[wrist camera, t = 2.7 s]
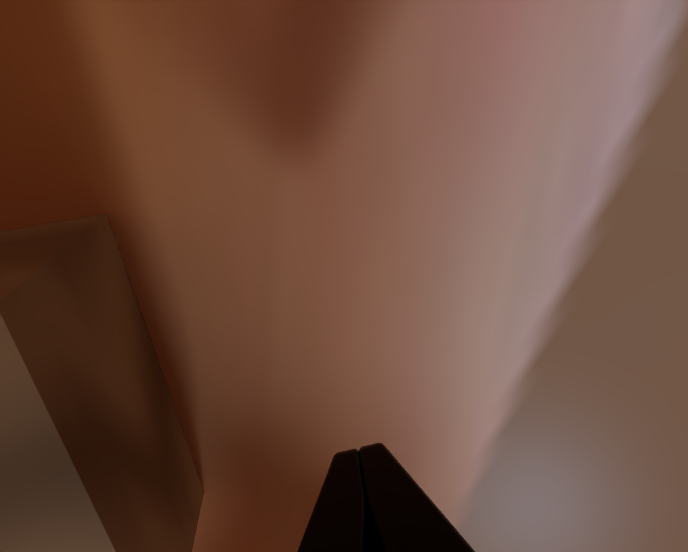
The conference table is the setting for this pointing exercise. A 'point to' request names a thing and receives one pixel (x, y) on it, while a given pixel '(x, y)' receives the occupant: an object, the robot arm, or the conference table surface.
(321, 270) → the conference table surface
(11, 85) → the conference table surface
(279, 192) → the conference table surface
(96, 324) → the walnut block
